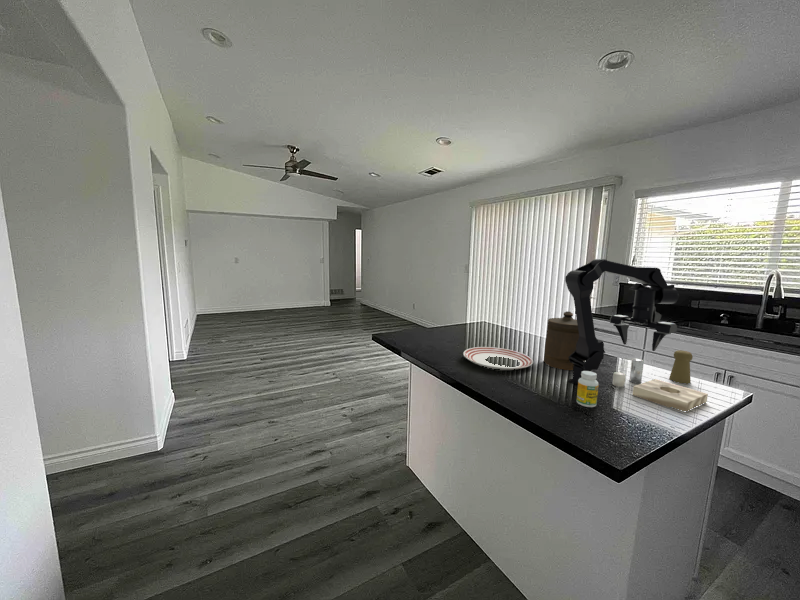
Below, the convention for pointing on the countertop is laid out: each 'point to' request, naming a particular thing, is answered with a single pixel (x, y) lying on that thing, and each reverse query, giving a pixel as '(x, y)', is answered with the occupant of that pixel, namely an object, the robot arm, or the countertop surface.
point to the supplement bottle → (587, 389)
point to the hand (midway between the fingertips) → (638, 347)
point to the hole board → (670, 394)
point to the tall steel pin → (636, 370)
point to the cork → (681, 367)
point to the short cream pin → (618, 379)
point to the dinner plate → (482, 353)
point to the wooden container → (561, 341)
